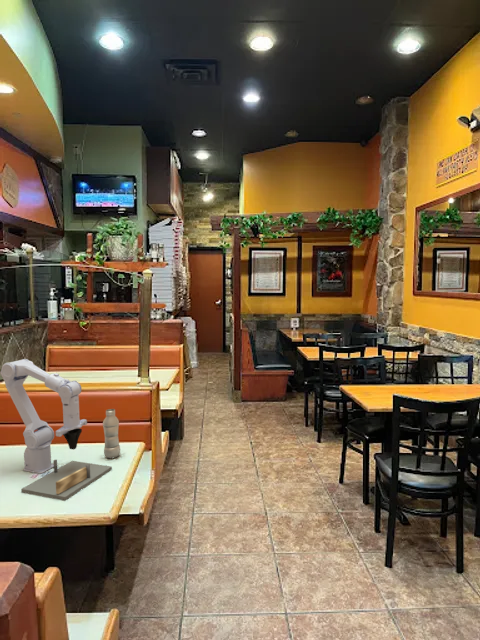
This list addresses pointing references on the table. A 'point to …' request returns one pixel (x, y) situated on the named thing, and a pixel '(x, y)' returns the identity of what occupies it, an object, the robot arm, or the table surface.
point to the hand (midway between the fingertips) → (72, 448)
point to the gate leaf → (71, 480)
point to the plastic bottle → (111, 434)
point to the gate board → (48, 482)
